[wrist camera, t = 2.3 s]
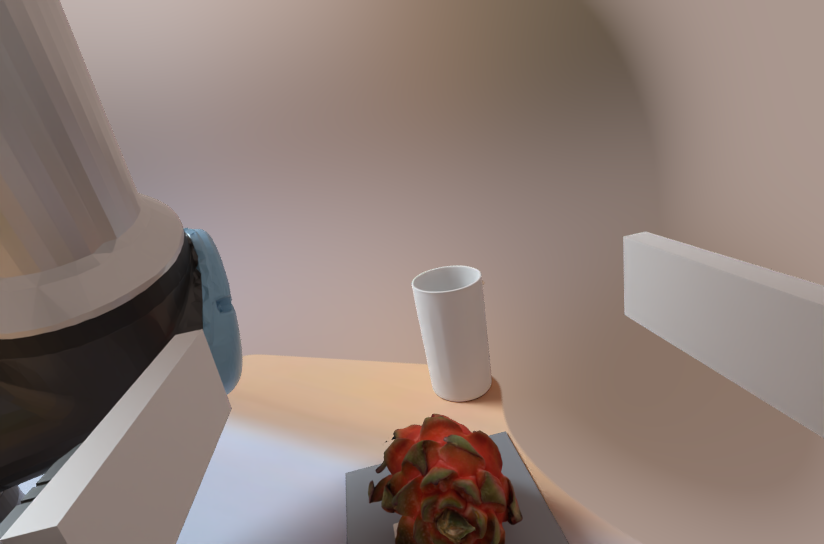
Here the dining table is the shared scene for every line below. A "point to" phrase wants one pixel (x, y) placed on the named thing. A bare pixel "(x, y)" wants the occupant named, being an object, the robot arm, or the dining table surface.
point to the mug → (454, 331)
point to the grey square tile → (377, 529)
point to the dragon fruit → (445, 485)
